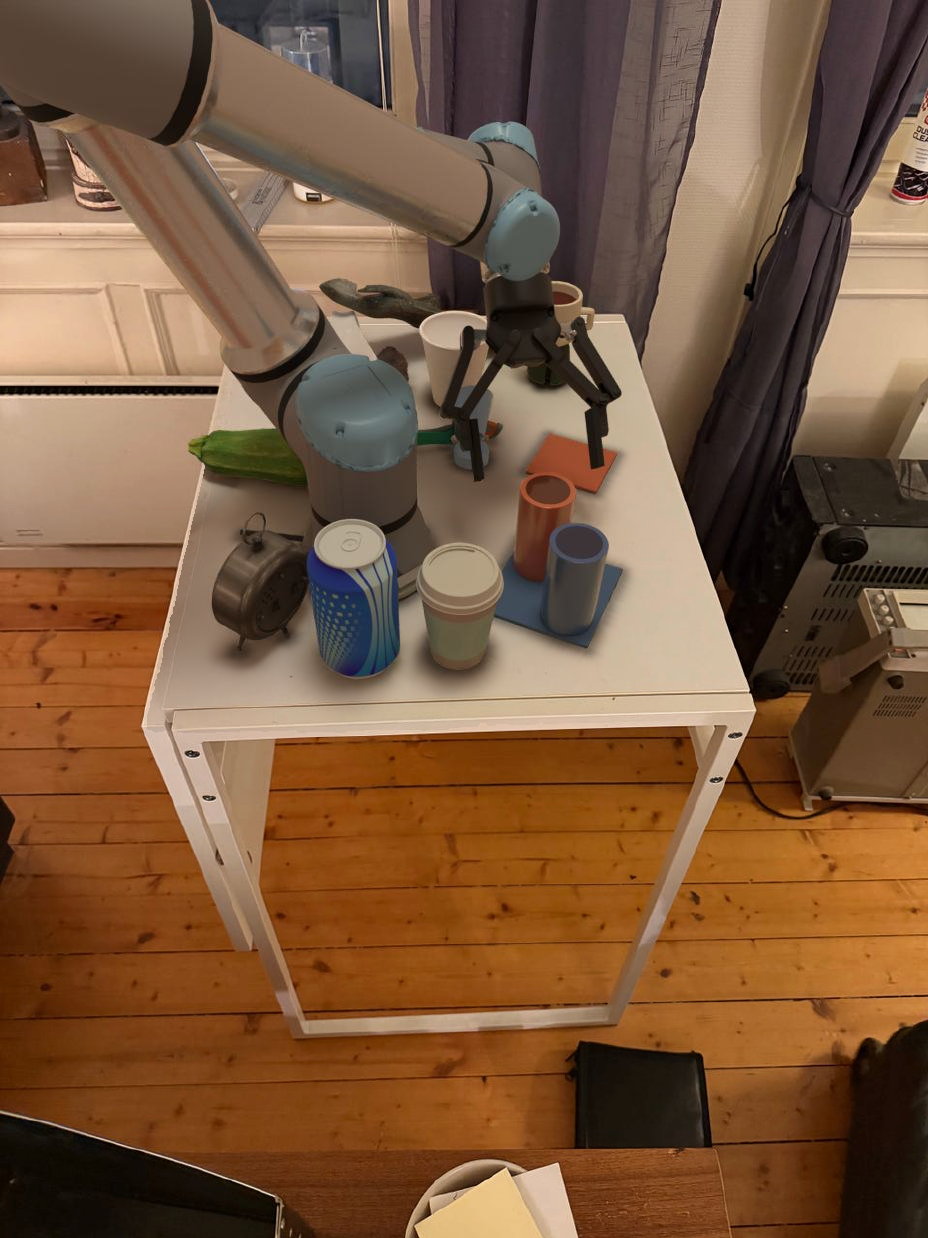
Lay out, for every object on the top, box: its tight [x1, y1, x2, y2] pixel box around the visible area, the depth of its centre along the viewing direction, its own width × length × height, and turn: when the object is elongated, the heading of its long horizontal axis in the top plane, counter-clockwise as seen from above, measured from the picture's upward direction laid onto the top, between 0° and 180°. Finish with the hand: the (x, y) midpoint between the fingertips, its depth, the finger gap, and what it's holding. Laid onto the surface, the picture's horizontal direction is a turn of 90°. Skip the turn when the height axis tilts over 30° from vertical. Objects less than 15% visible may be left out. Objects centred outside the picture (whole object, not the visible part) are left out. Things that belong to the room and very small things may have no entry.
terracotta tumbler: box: [513, 472, 577, 582], centre depth 97 cm, size 6×6×11 cm
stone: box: [376, 345, 410, 384], centre depth 126 cm, size 11×2×5 cm
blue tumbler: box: [539, 522, 610, 636], centre depth 91 cm, size 6×6×11 cm
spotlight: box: [453, 385, 494, 471], centre depth 111 cm, size 5×10×7 cm
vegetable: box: [187, 427, 308, 488], centre depth 108 cm, size 7×7×20 cm
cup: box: [418, 310, 490, 408], centre depth 119 cm, size 10×10×11 cm
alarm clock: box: [210, 510, 310, 653], centre depth 87 cm, size 11×5×16 cm, turn 148°
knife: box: [417, 419, 504, 447], centre depth 114 cm, size 20×2×5 cm, turn 105°
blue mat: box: [494, 551, 624, 649], centre depth 98 cm, size 13×13×1 cm
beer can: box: [307, 519, 401, 680], centre depth 86 cm, size 8×8×16 cm
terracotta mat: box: [525, 433, 618, 495], centre depth 114 cm, size 10×9×1 cm
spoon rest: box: [329, 310, 377, 361], centre depth 123 cm, size 24×12×7 cm, turn 6°
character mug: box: [526, 280, 596, 386], centre depth 123 cm, size 11×7×13 cm, turn 83°
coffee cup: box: [416, 542, 504, 671], centre depth 88 cm, size 8×8×12 cm
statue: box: [318, 277, 445, 330], centre depth 127 cm, size 10×6×30 cm
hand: (539, 474), depth 96 cm, fingers open, 13 cm apart
